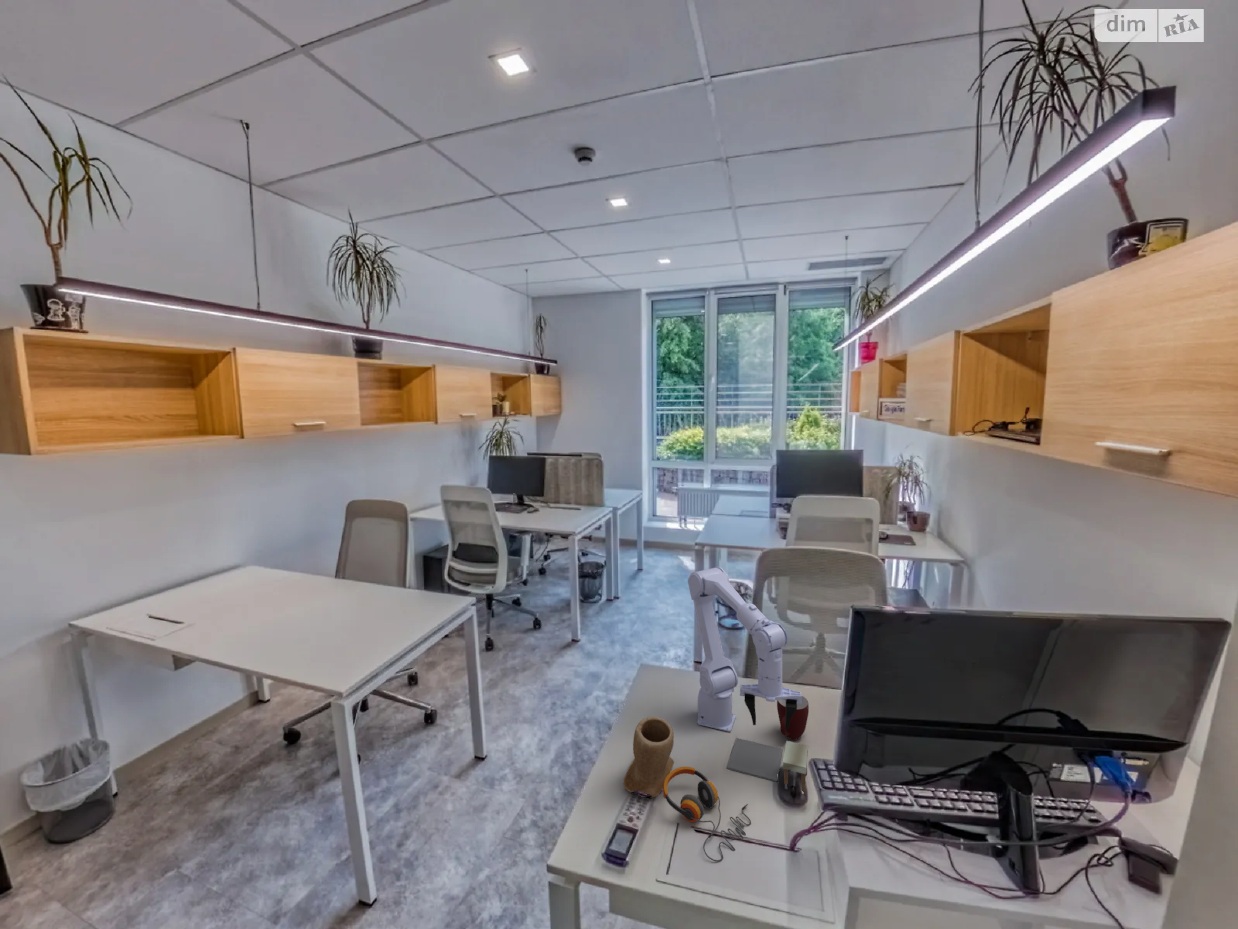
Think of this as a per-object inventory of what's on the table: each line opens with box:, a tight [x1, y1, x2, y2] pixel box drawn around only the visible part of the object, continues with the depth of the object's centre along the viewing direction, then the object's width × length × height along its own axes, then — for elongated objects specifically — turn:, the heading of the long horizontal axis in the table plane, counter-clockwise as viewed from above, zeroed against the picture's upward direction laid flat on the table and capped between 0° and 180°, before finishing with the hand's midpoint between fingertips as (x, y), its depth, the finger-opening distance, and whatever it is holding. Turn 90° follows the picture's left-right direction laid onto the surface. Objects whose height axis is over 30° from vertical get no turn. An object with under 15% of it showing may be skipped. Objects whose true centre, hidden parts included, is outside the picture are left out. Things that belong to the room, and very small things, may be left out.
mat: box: [726, 737, 784, 783], centre depth 123 cm, size 12×12×1 cm
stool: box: [782, 740, 809, 795], centre depth 115 cm, size 5×8×7 cm, turn 156°
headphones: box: [662, 766, 752, 863], centre depth 107 cm, size 17×5×20 cm
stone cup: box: [622, 716, 675, 798], centre depth 117 cm, size 15×12×15 cm
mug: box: [776, 695, 810, 741], centre depth 131 cm, size 10×8×10 cm
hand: (770, 725), depth 121 cm, fingers open, 7 cm apart
